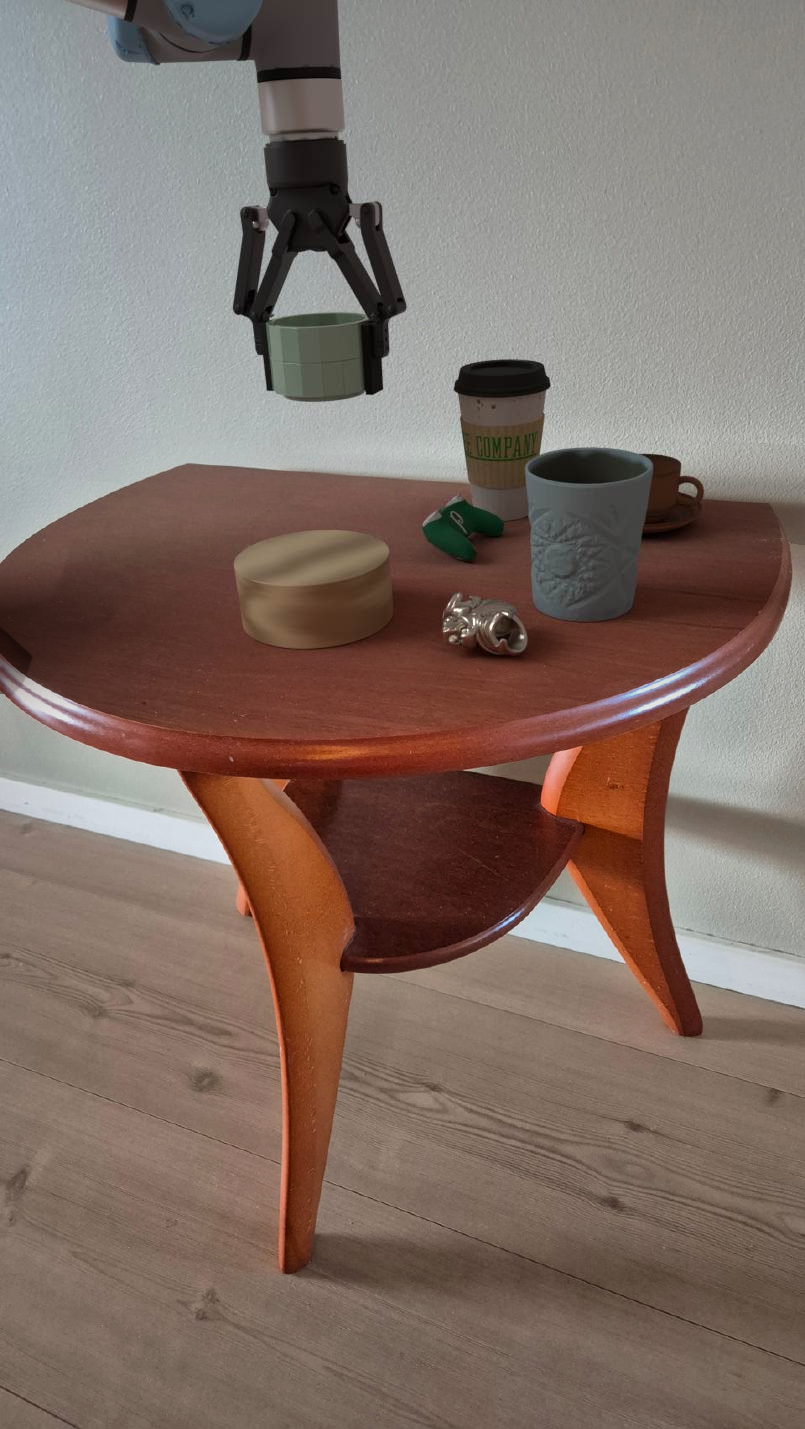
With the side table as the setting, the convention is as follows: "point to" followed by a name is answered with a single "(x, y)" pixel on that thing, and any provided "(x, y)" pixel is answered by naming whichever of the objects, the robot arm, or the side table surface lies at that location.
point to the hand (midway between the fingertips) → (324, 390)
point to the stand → (314, 588)
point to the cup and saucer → (670, 496)
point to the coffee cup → (501, 430)
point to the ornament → (483, 625)
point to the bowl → (317, 356)
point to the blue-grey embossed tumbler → (586, 530)
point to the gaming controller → (460, 527)
